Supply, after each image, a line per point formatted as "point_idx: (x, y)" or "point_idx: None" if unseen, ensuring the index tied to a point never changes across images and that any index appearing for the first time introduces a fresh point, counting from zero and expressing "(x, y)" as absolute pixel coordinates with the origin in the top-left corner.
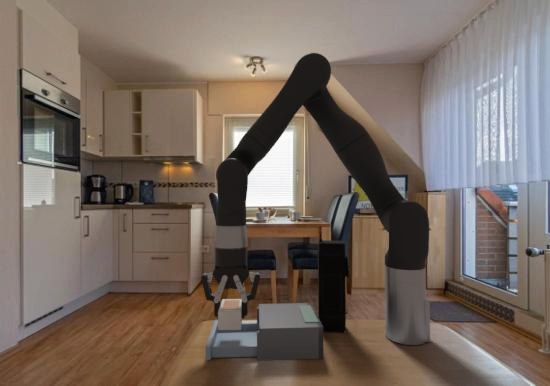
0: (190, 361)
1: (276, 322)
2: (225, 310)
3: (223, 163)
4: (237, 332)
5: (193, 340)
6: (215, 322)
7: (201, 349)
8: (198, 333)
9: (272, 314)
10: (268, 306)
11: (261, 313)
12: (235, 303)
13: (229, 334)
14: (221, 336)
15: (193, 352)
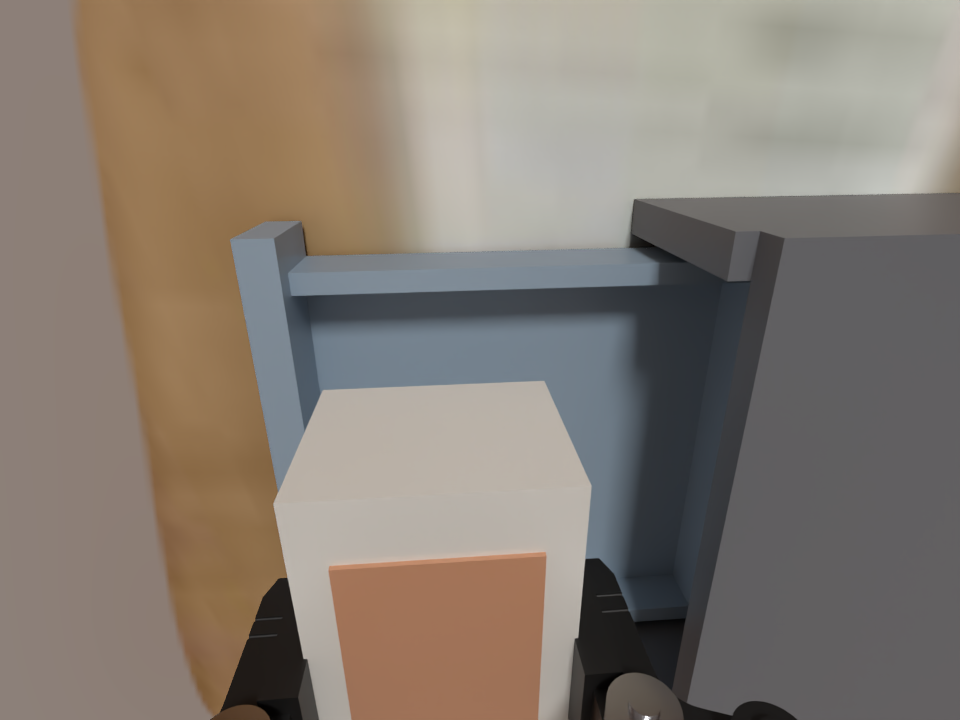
0: (248, 613)
1: (815, 696)
2: None
3: None
4: (475, 319)
5: (147, 380)
6: (259, 318)
7: (261, 500)
8: (128, 252)
9: (839, 558)
10: (876, 339)
11: (744, 537)
12: (496, 662)
13: (414, 355)
14: (357, 387)
15: (224, 533)
